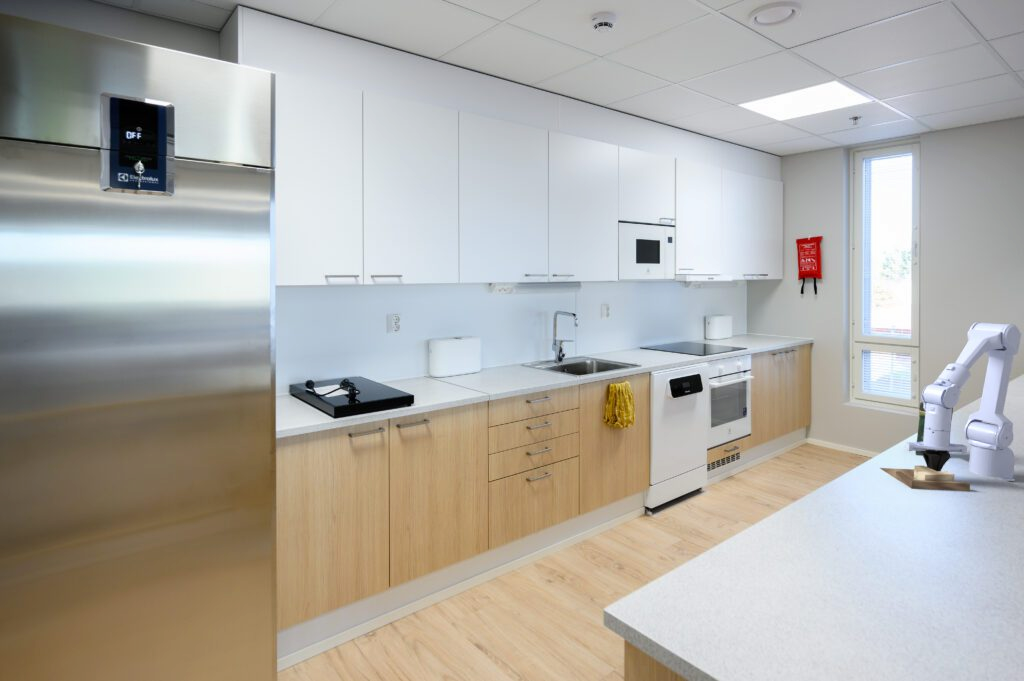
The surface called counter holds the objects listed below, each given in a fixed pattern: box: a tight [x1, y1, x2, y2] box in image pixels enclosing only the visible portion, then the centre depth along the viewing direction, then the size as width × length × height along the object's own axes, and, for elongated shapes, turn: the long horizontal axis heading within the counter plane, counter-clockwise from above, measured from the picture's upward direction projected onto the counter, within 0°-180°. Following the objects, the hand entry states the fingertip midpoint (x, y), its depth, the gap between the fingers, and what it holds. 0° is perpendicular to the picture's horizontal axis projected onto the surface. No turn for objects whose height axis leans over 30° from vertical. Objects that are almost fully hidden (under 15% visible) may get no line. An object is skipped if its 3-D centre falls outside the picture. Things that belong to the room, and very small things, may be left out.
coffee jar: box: [915, 401, 954, 457], centre depth 182 cm, size 10×8×19 cm
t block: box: [913, 465, 955, 482], centre depth 156 cm, size 8×8×4 cm
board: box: [879, 467, 971, 492], centre depth 159 cm, size 14×17×3 cm
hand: (933, 477), depth 158 cm, fingers closed
